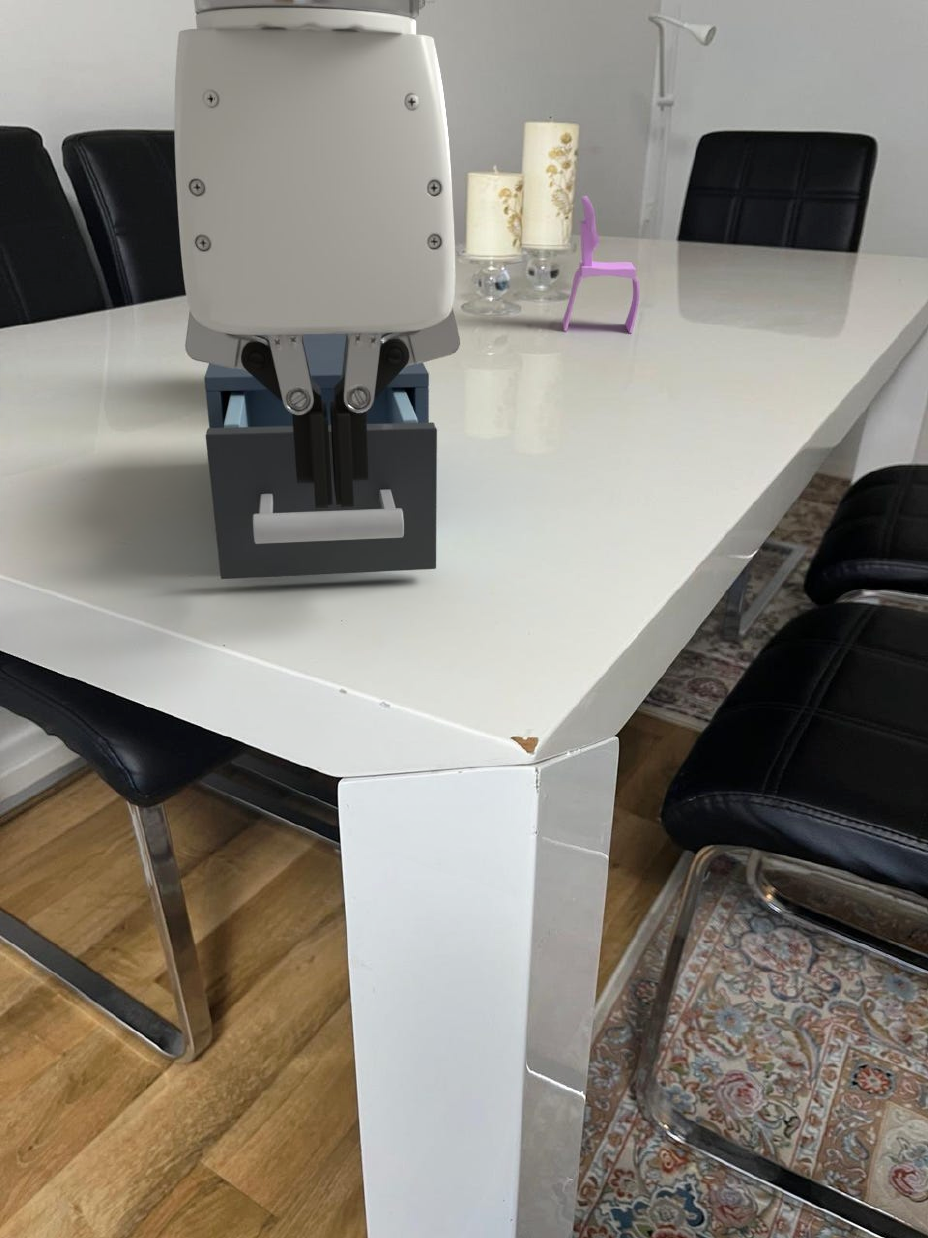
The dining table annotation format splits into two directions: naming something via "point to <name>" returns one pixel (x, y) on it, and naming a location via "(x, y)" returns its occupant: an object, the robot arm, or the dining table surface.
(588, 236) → the toy chair
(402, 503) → the dark grey drawer
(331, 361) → the drawer cabinet
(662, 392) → the dining table surface
